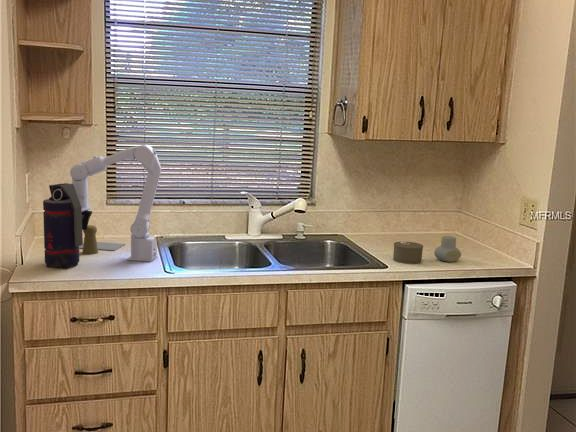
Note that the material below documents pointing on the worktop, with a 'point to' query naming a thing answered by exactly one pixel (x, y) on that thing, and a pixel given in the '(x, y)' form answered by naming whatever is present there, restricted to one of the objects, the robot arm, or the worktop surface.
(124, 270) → the worktop surface
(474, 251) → the worktop surface
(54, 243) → the grenade
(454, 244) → the air freshener
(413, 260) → the can
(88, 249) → the cork
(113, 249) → the mat
